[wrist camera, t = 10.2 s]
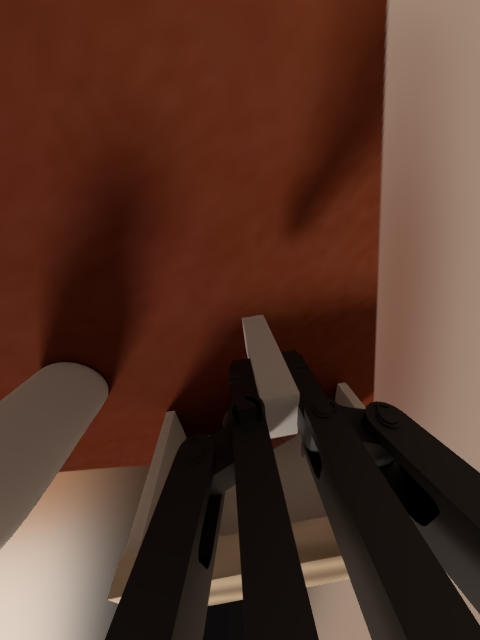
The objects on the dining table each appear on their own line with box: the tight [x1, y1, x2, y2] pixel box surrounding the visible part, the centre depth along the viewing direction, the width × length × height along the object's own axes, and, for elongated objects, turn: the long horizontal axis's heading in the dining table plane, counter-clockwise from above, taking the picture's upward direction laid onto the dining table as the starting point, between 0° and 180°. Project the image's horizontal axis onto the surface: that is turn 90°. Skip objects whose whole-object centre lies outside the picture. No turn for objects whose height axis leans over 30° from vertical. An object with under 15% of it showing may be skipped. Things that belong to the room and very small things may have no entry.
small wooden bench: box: [108, 382, 366, 606], centre depth 22 cm, size 9×26×15 cm, turn 97°
